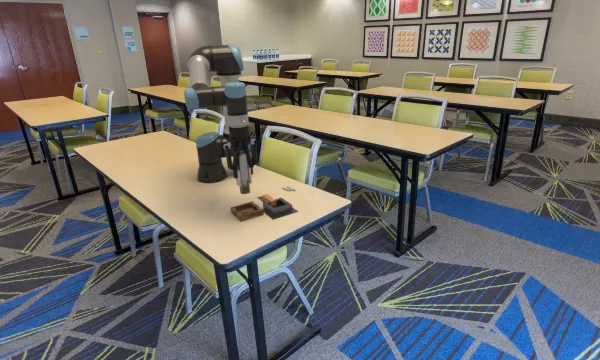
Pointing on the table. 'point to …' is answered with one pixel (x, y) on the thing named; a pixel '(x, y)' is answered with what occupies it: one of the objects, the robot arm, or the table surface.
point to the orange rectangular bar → (269, 199)
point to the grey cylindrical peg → (244, 173)
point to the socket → (277, 208)
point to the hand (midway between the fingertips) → (244, 183)
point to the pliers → (289, 189)
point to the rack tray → (247, 211)
